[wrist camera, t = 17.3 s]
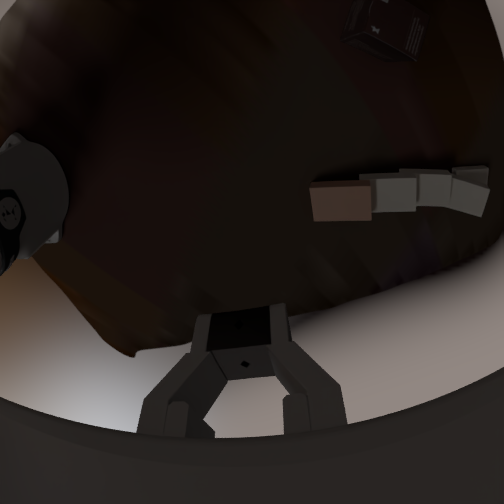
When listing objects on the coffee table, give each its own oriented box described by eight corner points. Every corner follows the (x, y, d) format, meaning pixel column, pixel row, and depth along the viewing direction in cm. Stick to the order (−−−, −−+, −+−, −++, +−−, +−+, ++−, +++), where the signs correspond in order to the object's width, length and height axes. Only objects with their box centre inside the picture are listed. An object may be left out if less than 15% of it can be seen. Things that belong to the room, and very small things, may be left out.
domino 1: (314, 221, 34) (371, 220, 31) (309, 188, 31) (370, 186, 29) (315, 214, 35) (370, 213, 33) (311, 182, 33) (369, 179, 30)
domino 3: (400, 205, 32) (449, 206, 30) (401, 173, 30) (451, 175, 27) (398, 199, 34) (445, 200, 31) (398, 168, 31) (447, 169, 29)
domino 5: (440, 205, 32) (481, 217, 29) (447, 176, 29) (489, 189, 27) (438, 199, 33) (478, 211, 31) (445, 171, 30) (486, 184, 28)
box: (385, 63, 24) (417, 63, 18) (338, 40, 23) (361, 32, 17) (398, 23, 21) (431, 16, 14) (352, 0, 20) (377, -17, 14)
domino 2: (362, 212, 33) (415, 211, 30) (359, 179, 31) (416, 178, 28) (361, 205, 34) (413, 204, 32) (358, 174, 32) (413, 172, 29)
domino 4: (454, 199, 32) (485, 195, 31) (456, 170, 29) (488, 168, 29) (447, 194, 33) (478, 190, 32) (449, 166, 31) (481, 164, 30)
